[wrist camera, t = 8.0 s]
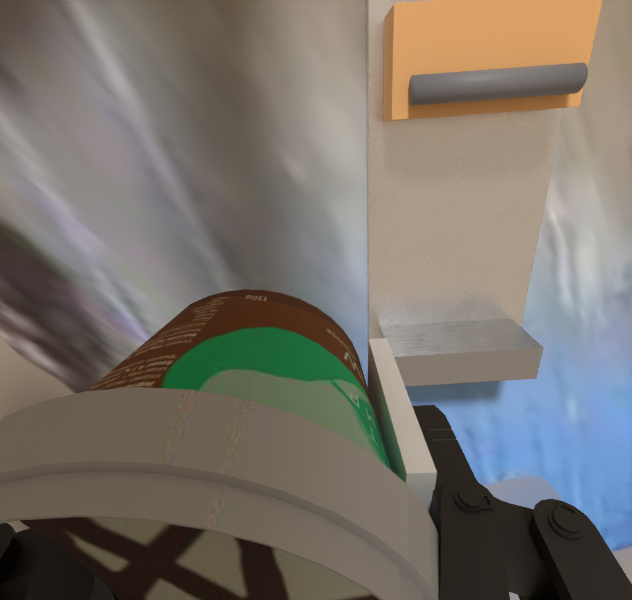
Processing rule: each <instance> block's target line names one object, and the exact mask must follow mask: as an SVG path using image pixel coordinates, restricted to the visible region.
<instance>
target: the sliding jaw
mask: <svg viewBox="0 0 632 600" xmlns="http://www.w3.org/2000/svg"><path fill="white" fill-rule="evenodd" d="M601 4H602V0H430V1H417V2H404V3H394V4H393V6H392V7H391V9H390V10H389V12H388V13H387V15H386V17H385V18H384V94H383V121H393V120H406V119H420V118H434V117H448V116H462V115H475V114H489V113H503V112H517V111H531V110H544V109H556V108H567V107H577V106H580V103H581V98H582V93H583V89H584V84H585V82H586V79H587V75H588V65H589V61H590V56H591V51H592V47H593V42H594V37H595V33H596V28H597V23H598V18H599V14H600V9H601Z"/></svg>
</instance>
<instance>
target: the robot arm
mask: <svg viewBox="0 0 632 600" xmlns="http://www.w3.org/2000/svg"><path fill="white" fill-rule="evenodd" d="M368 392H369V395H370V399H371V402H372V405H373V409H374V412H375V416H376V419H377V423H378V426H379V429H380V433H381V436H382V440H383V443H384V447H385V450H386V454H387V457H388V460H389V464H390V467H391V471H392V472H393V473H395V474H396V475H397V476H398V477H399V478H400V479H401V480H403V481H404V482H405V483H406V484H407V485H408V487H409V488H410V489H411V490H412V492H413V493H414V494H415V495H416V497H417V498H418V499H419V501H420V502H421V503H422V504H423V506H424V507H425V508H426V510H427V511H428V513H429V515H430V517H431V519H432V521H433V523H434V525H435V527H436V530H437V532H438V534H439V536H440V600H510V597H509V592H512V593H515V594H518V596H519V598H520V600H632V584H631V582H630V581H629V579H628V578H627V576H626V574H625V573H624V571H623V570H622V568H621V567H620V565H619V563H618V562H617V560H616V559H615V557H614V555H613V554H612V552H611V551H610V549H609V547H608V546H607V544H606V543H605V541H604V539H603V538H602V536H601V535H600V533H599V531H598V530H597V528H596V527H595V525H594V524H593V523H592V522H591V521H590V519H589V518H588V517H587V516H586V515H585V514H584V513H582V512H581V511H580V510H578V509H577V508H576V507H574V506H572V505H570V504H568V503H566V502H563V501H559V500H554V499H547V500H541V501H540V502H539V503H538V504H536V505H535V508H534V510H533V509H530V508H526V507H522V506H518V505H514V504H510V503H507V502H504V501H501V500H499V499H497V498H495V497H493V495H492V494H491V493H490V492H489V490H488V489H487V488H485V487H484V486H482V485H481V484H480V483H478V481H477V480H476V478H475V476H474V474H473V472H472V470H471V468H470V466H469V464H468V462H467V460H466V458H465V455H464V453H463V451H462V449H461V447H460V445H459V443H458V441H457V440H456V437H455V435H454V433H453V430H451V426H450V424H449V422H448V420H447V418H446V416H445V415H444V414H443V413H442V412H441V411H440V410H439V409H438V408H437V407H436V406H435V405H424V406H412V404H411V401H410V399H409V396H408V393H407V391H406V388H405V385H404V383H403V380H402V377H401V375H400V372H399V369H398V367H397V364H396V361H395V359H394V356H393V353H392V351H391V348H390V345H389V343H388V340H387V338H382V339H369V343H368ZM0 600H119V599H118V598H117V597H116V596H115V595H114V593H113V592H112V591H111V590H110V589H109V587H108V586H107V585H106V584H105V583H103V582H102V581H101V580H100V579H99V578H97V577H96V576H95V575H94V574H93V573H92V572H90V571H89V570H88V569H87V568H86V567H84V566H83V565H82V564H81V563H80V562H78V561H77V560H76V559H75V558H74V557H72V556H71V555H70V554H69V553H68V552H66V551H65V550H64V549H63V548H62V547H60V546H59V545H58V544H57V543H55V542H54V541H52V540H50V539H48V538H47V537H45V536H43V535H42V534H40V533H38V532H36V531H35V530H33V529H31V528H29V529H27V530H23V531H20V532H17V533H16V532H15V530H14V529H13V527H12V526H10V525H9V524H8V523H2V524H0Z"/></svg>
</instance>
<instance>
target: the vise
mask: <svg viewBox="0 0 632 600" xmlns="http://www.w3.org/2000/svg"><path fill="white" fill-rule="evenodd" d="M417 1H430V0H366V52H367V230H368V343H369V339H382V338H387V340H388V343H389V345H390V348H391V351H392V353H393V356H394V359H395V361H396V364H397V367H398V369H399V372H400V375H401V377H402V380H403V383H404V385H405V387H407V386H423V385H439V384H455V383H472V382H488V381H504V380H520V379H536V377H537V373H538V368H539V364H540V360H541V356H542V351H543V347H542V346H541V345H540V344H539V343H538V342H537V341H536V340H535V339H533V338H532V337H531V336H530V335H529V334H528V333H527V332H526V331H525V330H524V329H523V328H522V327H521V322H522V317H523V312H524V307H525V302H526V297H527V292H528V287H529V282H530V276H531V271H532V266H533V261H534V256H535V251H536V246H537V241H538V236H539V231H540V226H541V221H542V216H543V211H544V205H545V200H546V195H547V190H548V185H549V180H550V175H551V170H552V165H553V160H554V155H555V150H556V145H557V140H558V134H559V129H560V124H561V119H562V114H563V109H564V108H556V109H544V110H531V111H517V112H503V113H489V114H475V115H462V116H448V117H434V118H420V119H406V120H393V121H383V94H384V18H385V17H386V15H387V13H388V12H389V10H390V9H391V7H392V6H393V4H394V3H404V2H417Z"/></svg>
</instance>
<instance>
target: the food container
mask: <svg viewBox="0 0 632 600" xmlns="http://www.w3.org/2000/svg"><path fill="white" fill-rule="evenodd" d="M17 520H20V521H21V522H22V523H23V524H25V525H27V526H28V527H30V528H31V529H33V530H35V531H36V532H38V533H40V534H42V535H43V536H45V537H47V538H48V539H50V540H52V541H54V542H55V543H57V544H58V545H59V546H60V547H62V548H63V549H64V550H65V551H66V552H68V553H69V554H70V555H71V556H72V557H74V558H75V559H76V560H77V561H78V562H80V563H81V564H82V565H83V566H84V567H86V568H87V569H88V570H89V571H90V572H92V573H93V574H94V575H95V576H96V577H97V578H99V579H100V580H101V581H102V582H103V583H105V584H106V585H107V586H108V587H109V589H110V590H111V591H112V592H113V593H114V595H115V596H116V597H117V598H118V599H119V600H440V536H439V534H438V532H437V530H436V527H435V525H434V523H433V521H432V519H431V517H430V515H429V513H428V511H427V510H426V508H425V507H424V506H423V504H422V503H421V502H420V501H419V499H418V498H417V497H416V495H415V494H414V493H413V492H412V490H411V489H410V488H409V487H408V485H407V484H406V483H405V482H404V481H403V480H401V479H400V478H399V477H398V476H397V475H396V474H395V473H393V472H392V471H391V467H390V464H389V460H388V457H387V454H386V450H385V447H384V443H383V440H382V436H381V433H380V429H379V426H378V423H377V419H376V416H375V412H374V409H373V405H372V402H371V399H370V395H369V392H368V388H367V385H366V381H365V378H364V374H363V371H362V368H361V364H360V361H359V357H358V355H357V352H356V350H355V348H354V346H353V344H352V342H351V340H350V339H349V338H348V336H347V335H346V333H345V332H344V331H343V329H342V328H341V327H340V326H339V325H338V324H337V323H336V322H335V321H334V320H333V319H332V318H330V317H329V316H328V315H326V314H325V313H323V312H322V311H321V310H319V309H318V308H316V307H314V306H312V305H310V304H308V303H306V302H304V301H302V300H300V299H297V298H294V297H291V296H288V295H285V294H282V293H276V292H271V291H265V290H237V291H227V292H223V293H219V294H215V295H211V296H208V297H206V298H203V299H201V300H199V301H197V302H194V303H192V304H190V305H189V306H188V307H187V308H186V309H184V310H183V311H182V312H181V313H180V314H178V315H177V316H176V317H175V318H174V319H172V320H171V321H170V322H169V323H168V324H167V325H165V326H164V327H163V328H162V329H161V330H159V331H158V332H157V333H156V334H155V335H154V336H152V337H151V338H150V339H149V340H148V341H146V342H145V343H144V344H143V345H142V346H140V347H139V348H138V349H137V350H136V351H135V352H133V353H132V354H131V355H130V356H129V357H127V358H126V359H125V360H124V361H123V362H122V363H120V364H119V365H118V366H117V367H116V368H114V369H113V370H112V371H111V372H110V373H108V374H107V375H106V376H105V377H104V378H103V379H101V380H100V381H99V382H98V383H97V384H95V385H94V386H93V387H92V388H91V389H90V390H88V391H86V392H81V393H77V394H73V395H68V396H64V397H60V398H55V399H51V400H47V401H42V402H39V403H36V404H34V405H31V406H29V407H26V408H24V409H21V410H19V411H16V412H14V413H11V414H9V415H6V416H4V417H3V418H2V420H1V421H0V524H2V523H6V522H12V521H17Z"/></svg>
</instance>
